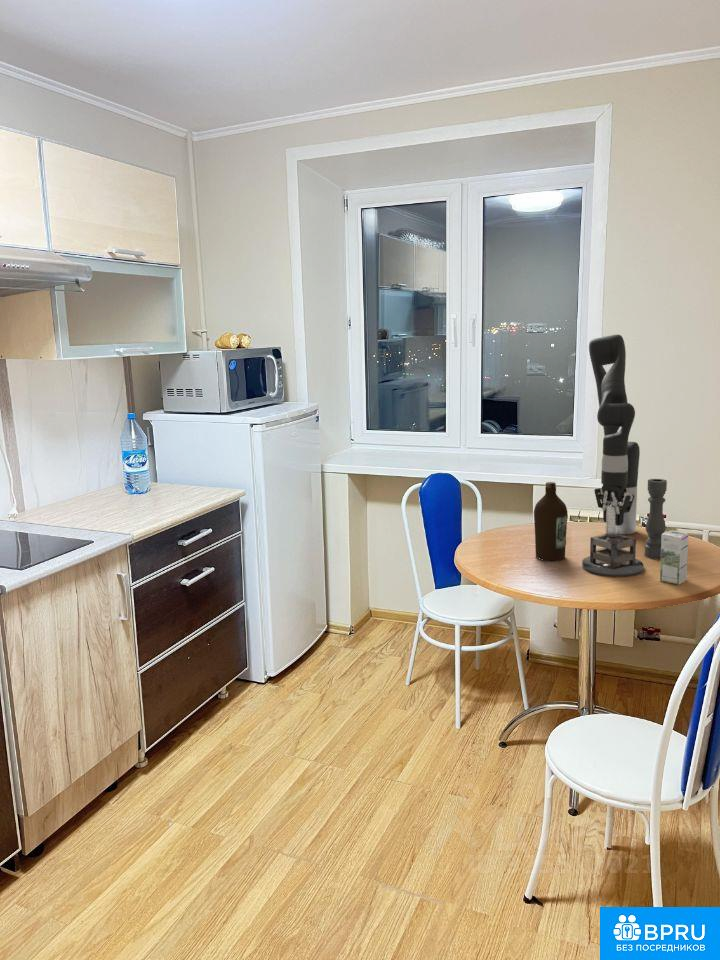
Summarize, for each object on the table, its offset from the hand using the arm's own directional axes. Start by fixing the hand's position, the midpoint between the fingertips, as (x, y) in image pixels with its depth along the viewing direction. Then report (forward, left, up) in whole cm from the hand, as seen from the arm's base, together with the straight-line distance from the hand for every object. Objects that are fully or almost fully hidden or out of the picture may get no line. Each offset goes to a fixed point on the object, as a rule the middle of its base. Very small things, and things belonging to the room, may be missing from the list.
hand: (613, 523), depth 220 cm
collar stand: (0, 0, -14) cm, 14 cm away
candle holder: (-10, +17, -14) cm, 24 cm away
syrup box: (+14, +13, -14) cm, 24 cm away
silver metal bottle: (0, 0, -8) cm, 8 cm away
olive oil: (-13, -16, -14) cm, 25 cm away
